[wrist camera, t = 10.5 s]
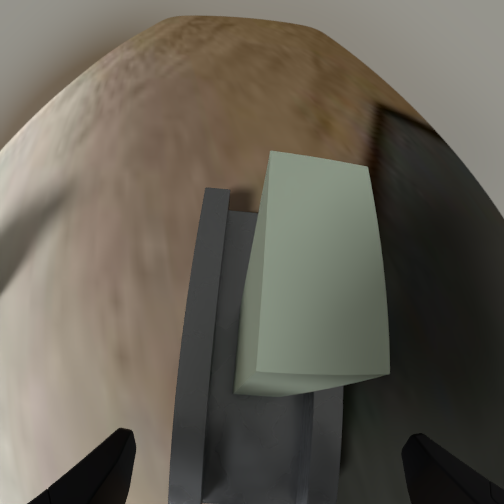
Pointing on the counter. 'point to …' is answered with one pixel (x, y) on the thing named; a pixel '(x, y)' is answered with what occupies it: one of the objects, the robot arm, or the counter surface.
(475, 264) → the counter surface
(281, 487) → the track
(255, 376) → the door panel
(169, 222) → the counter surface
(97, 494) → the robot arm
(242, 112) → the counter surface
